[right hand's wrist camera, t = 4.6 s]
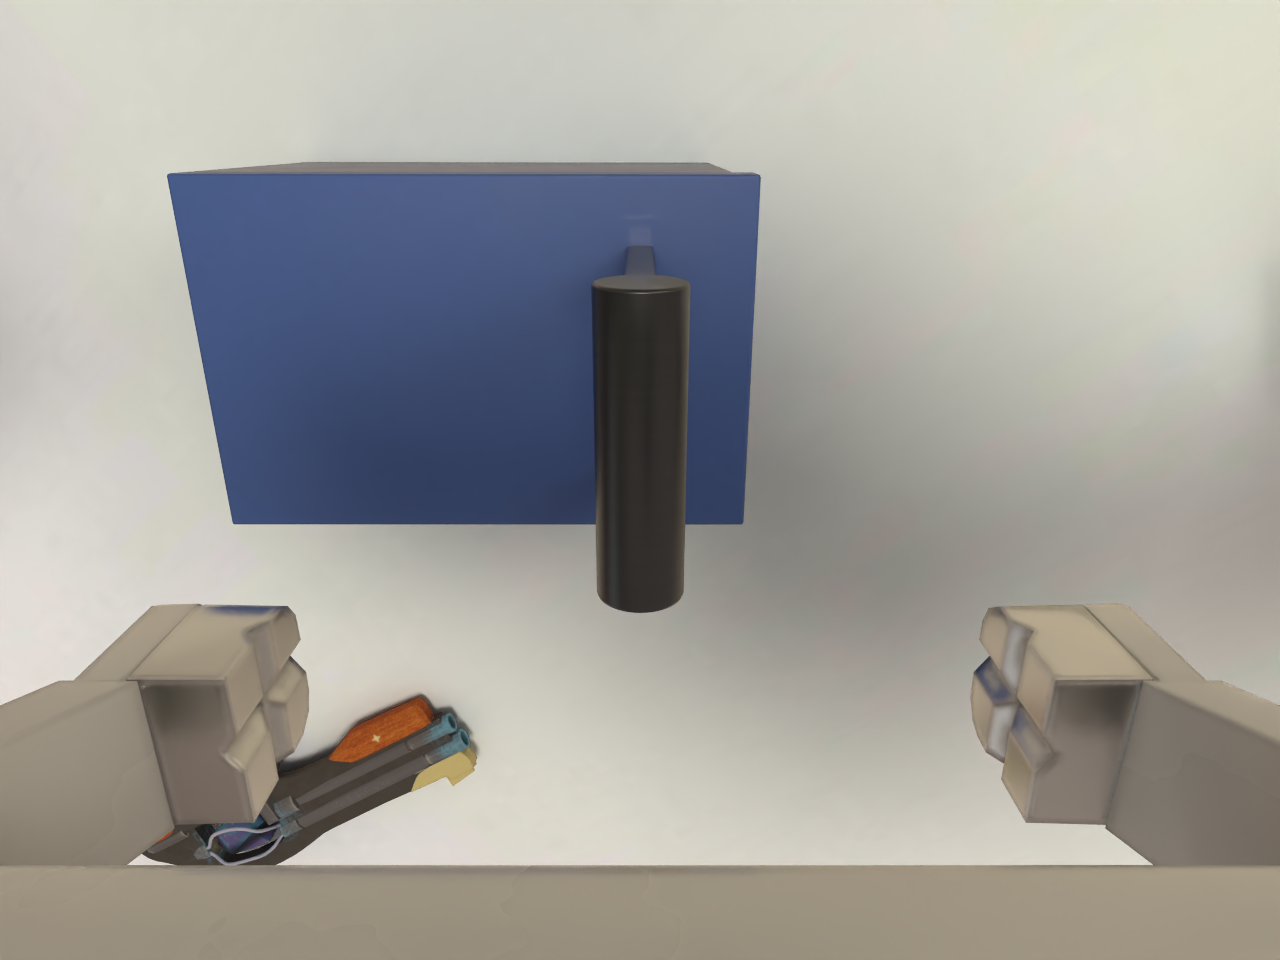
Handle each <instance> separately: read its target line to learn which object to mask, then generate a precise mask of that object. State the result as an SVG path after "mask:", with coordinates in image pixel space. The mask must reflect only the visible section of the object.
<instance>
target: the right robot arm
mask: <svg viewBox="0 0 1280 960" xmlns="http://www.w3.org/2000/svg"><path fill="white" fill-rule="evenodd" d="M300 640H301V639H300V634H299V629H298V625H297V620H296V615H295V614H294V613H293V612H292V611H291V609H290V608H289V607H288V606H249V605H200V604H171V605H157V606H152V607H150V608H149V609H148V610H147V611H146V612H145V613H144V614H143V615H142V616H141V617H140V618H139V619H138V620H137V621H136V622H135V623H134V624H133V625H132V626H130V627H129V628H128V629H127V630H126V631H125V632H124V633H123V634H122V635H121V636H120V637H119V638H118V639H117V640H116V641H115V642H114V643H113V644H112V645H111V646H109V647H108V648H107V649H106V650H105V651H104V652H103V653H102V654H101V655H100V656H99V657H98V658H97V659H96V660H95V661H94V662H93V663H92V664H91V665H89V666H88V667H87V668H86V669H85V670H84V671H83V672H82V673H81V674H80V675H79V676H78V677H77V678H76V679H75V680H74V681H58V682H55V683H53V684H50V685H48V686H46V687H43V688H41V689H38V690H36V691H34V692H31V693H29V694H27V695H24V696H22V697H19V698H17V699H15V700H12V701H10V702H8V703H5V704H3V705H0V960H1280V706H1279V705H1277V704H1275V703H1272V702H1270V701H1268V700H1265V699H1263V698H1260V697H1258V696H1256V695H1253V694H1251V693H1249V692H1246V691H1244V690H1241V689H1239V688H1237V687H1234V686H1232V685H1230V684H1227V683H1225V682H1222V681H1206V680H1205V679H1204V678H1203V677H1202V676H1201V675H1200V674H1199V673H1198V672H1197V671H1196V670H1195V669H1194V668H1193V667H1192V666H1191V665H1190V664H1189V663H1187V662H1186V661H1185V660H1184V659H1183V658H1182V657H1181V656H1180V655H1179V654H1178V653H1177V652H1176V651H1175V650H1174V649H1173V648H1172V647H1171V646H1170V645H1169V644H1168V643H1167V642H1165V641H1164V640H1163V639H1162V638H1161V637H1160V636H1159V635H1158V634H1157V633H1156V632H1155V631H1154V630H1153V629H1152V628H1151V627H1150V626H1149V625H1148V624H1147V623H1146V622H1145V621H1143V620H1142V619H1141V618H1140V617H1139V616H1138V615H1137V614H1136V613H1135V612H1134V611H1133V610H1132V609H1131V608H1130V607H1127V606H1124V605H1121V604H1097V605H1052V606H1010V607H994V608H989V609H988V611H987V613H986V615H985V617H984V619H983V623H982V628H981V634H980V639H979V640H980V641H981V643H982V644H983V646H984V647H985V649H986V651H987V652H988V654H989V655H990V656H989V657H988V658H987V659H986V660H985V661H984V662H983V663H982V664H981V665H980V666H979V667H978V668H977V670H976V671H975V672H974V675H973V683H972V690H971V707H972V718H973V723H974V726H975V729H976V732H977V736H978V738H979V740H980V742H981V744H982V746H983V747H984V749H985V751H986V752H987V753H988V754H990V755H991V756H993V757H995V758H996V759H998V760H999V761H1001V762H1002V763H1004V767H1003V772H1002V778H1001V780H1002V782H1003V783H1004V785H1005V787H1006V789H1007V790H1008V792H1009V794H1010V796H1011V797H1012V799H1013V801H1014V803H1015V804H1016V806H1017V808H1018V810H1019V811H1020V813H1021V815H1022V817H1023V818H1024V820H1025V822H1026V823H1061V824H1098V825H1106V827H1105V828H1106V829H1107V830H1108V831H1110V832H1111V833H1112V834H1114V835H1115V836H1116V837H1118V838H1119V839H1120V840H1122V841H1123V842H1124V843H1125V844H1127V845H1128V846H1129V847H1131V848H1132V849H1133V850H1135V851H1136V852H1137V853H1139V854H1140V855H1141V856H1143V857H1144V858H1145V859H1146V860H1148V861H1149V862H1150V863H1152V864H1153V865H127V864H129V863H130V862H131V861H133V860H134V859H135V858H136V857H138V856H139V855H140V854H142V853H143V852H144V851H146V850H147V849H148V848H150V847H151V846H152V845H154V844H155V843H156V842H157V841H159V840H160V839H161V838H163V837H164V836H165V835H167V834H168V833H169V832H171V831H172V830H173V829H174V825H181V824H217V823H253V822H255V820H256V818H257V817H258V815H259V813H260V811H261V810H262V808H263V806H264V804H265V803H266V801H267V799H268V797H269V796H270V794H271V792H272V790H273V789H274V787H275V785H276V783H277V782H278V780H279V778H278V772H277V767H276V763H278V762H279V761H281V760H282V759H284V758H285V757H287V756H289V755H290V754H292V753H293V752H294V751H295V749H296V747H297V745H298V744H299V742H300V740H301V738H302V736H303V733H304V729H305V725H306V720H307V716H308V712H309V688H308V681H307V675H306V672H305V671H304V670H303V668H302V667H301V666H300V665H299V664H298V663H297V662H296V661H295V660H294V659H293V658H292V657H291V656H290V655H291V654H292V652H293V651H294V649H295V647H296V646H297V644H298V643H299V641H300Z"/></svg>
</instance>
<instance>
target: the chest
mask: <svg viewBox="0 0 1280 960" xmlns="http://www.w3.org/2000/svg"><path fill="white" fill-rule="evenodd" d="M194 172H667V173H732V172H730V171H727V170H725V169H722V168H719V167H717V166H714V165H712V164H709V163H454V162H305V163H293V164H280V165H268V166H256V167H244V168H231V169H219V170H207V171H194Z"/></svg>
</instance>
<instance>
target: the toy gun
mask: <svg viewBox="0 0 1280 960" xmlns="http://www.w3.org/2000/svg"><path fill="white" fill-rule="evenodd" d="M476 759H477V757H476V755H475V754H474V752H473V751H472V749H471V748H470V740H469V736H468V734H467V733H466V731H465V730H464V729H461V728H460V729H458V730H457V722H456V719H455V718H454V716H453V715H452V714H451V713H447V714H445V715H444V714H443V713H442V712H441V713H439V714H437V715H434V714H433V712H432V711H431V709H430V708H429V706H428V705H427V703H426V702H425V701H424V700H423V699H421V698H416V699H414V700H412V701H409V702H407V703H405V704H403V705H400V706H398V707H396V708H394V709H391V710H389V711H387V712H385V713H383V714H380V715H378V716H376V717H374V718H372V719H370V720H367V721H365V722H363V723H361V724H359V725H357V726H355V727H354V728H352V729H351V730H350V731H349V733H348V734H347V735H346V736H345V737H344V739H343V740H342V741H341V742H340V744H339V745H338V746H337V747H336V749H335V750H334V751H333V752H332V753H331V754H329V755H327V756H325V757H323V758H321V759H319V760H317V761H315V762H313V763H311V764H309V765H307V766H304V767H301V768H299V769H295V770H292V771H287V772H279V773H278V778H279V780H278V782H277V783H276V785H275V787H274V789H273V790H272V792H271V794H270V796H269V797H268V799H267V801H266V803H265V804H264V806H263V808H262V810H261V811H260V813H259V815H258V817H257V818H256V820H255V822H253V823H219V827H218V828H217V829H216V830H215V829H214V828H213V826H212V825H211V824H181V825H174V829H173V830H172V831H171V832H169V833H168V834H167V835H165V836H164V837H163V838H161V839H160V840H159V841H157V842H156V843H155V844H154V845H152V846H151V847H150V848H148V849H147V850H146V851H144V852H143V853H142V854H143V855H144V856H146V857H148V858H150V859H152V860H155V861H159V862H165V863H169V864H174V865H277V864H279V863H281V862H283V861H285V860H286V859H288V858H290V857H292V856H294V855H295V854H297V853H298V852H300V851H301V850H303V849H304V848H305V847H307V846H308V845H309V844H311V843H312V842H313V841H315V840H316V839H317V838H318V837H320V836H321V835H322V834H323V833H325V832H327V831H329V830H330V829H332V828H334V827H336V826H338V825H341V824H343V823H345V822H347V821H349V820H351V819H353V818H355V817H357V816H359V815H361V814H363V813H365V812H367V811H369V810H371V809H373V808H376V807H378V806H380V805H382V804H384V803H386V802H388V801H390V800H393V799H395V798H397V797H399V796H402V795H404V794H406V793H408V792H413V791H415V790H417V789H419V788H422V787H424V786H426V785H428V784H430V783H433V782H435V781H437V780H439V779H441V778H444V777H447V778H448V780H449V781H450V782H451V784H452V785H453V786H454V785H455V784H456V783H458V782H459V781H461V780H462V779H463V778H465V777H466V776H468V775H469V774H471V773H472V772H473V771H474V770H475V769H474V766H475V765H476ZM279 765H280V761H279V762H278V763H276V767H277V770H278V768H279ZM278 827H280V831H281V835H280V836H279V838H278V839H276V840H275V841H273V842H271V843H269V844H267V845H264V846H262V847H260V848H258V849H255V850H252V851H249V852H245V853H239V852H242V851H245V850H248V849H251V848H253V847H256V846H259V845H262V844H265V843H268V842H270V841H271V839H272V837H273V835H274V834H275V832H276V830H277V828H278ZM236 853H239V854H236Z"/></svg>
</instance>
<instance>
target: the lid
mask: <svg viewBox="0 0 1280 960" xmlns="http://www.w3.org/2000/svg"><path fill="white" fill-rule="evenodd" d="M167 178H168V183H169V189H170V194H171V199H172V204H173V210H174V215H175V220H176V226H177V231H178V236H179V241H180V247H181V252H182V257H183V262H184V268H185V273H186V278H187V284H188V289H189V294H190V299H191V305H192V310H193V315H194V321H195V326H196V331H197V336H198V342H199V347H200V352H201V357H202V363H203V368H204V373H205V379H206V384H207V389H208V394H209V400H210V405H211V410H212V416H213V421H214V426H215V431H216V437H217V442H218V447H219V452H220V458H221V463H222V468H223V474H224V479H225V484H226V489H227V495H228V500H229V505H230V510H231V516H232V521H233V524H596V559H597V593H598V595H599V597H600V599H601V600H602V601H603V602H604V603H605V604H607V605H608V606H610V607H612V608H615V609H618V610H621V611H626V612H634V613H647V612H655V611H659V610H663V609H666V608H668V607H671V606H672V605H674V604H675V603H677V602H678V601H679V600H680V598H681V597H682V595H683V590H684V546H685V524H743V519H744V499H745V479H746V459H747V440H748V420H749V400H750V380H751V360H752V340H753V320H754V300H755V280H756V260H757V240H758V220H759V200H760V181H761V177H760V175H758V174H755V173H667V172H182V173H170V174H168V175H167Z"/></svg>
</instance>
